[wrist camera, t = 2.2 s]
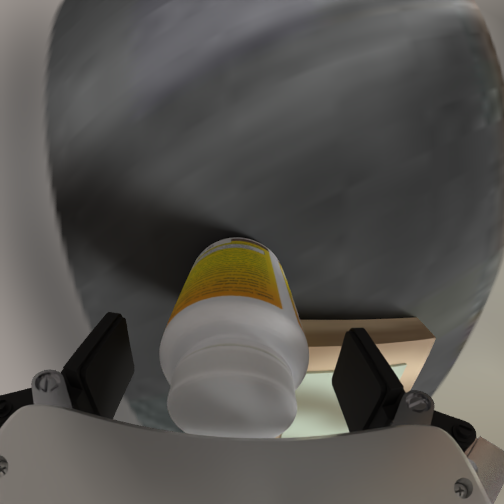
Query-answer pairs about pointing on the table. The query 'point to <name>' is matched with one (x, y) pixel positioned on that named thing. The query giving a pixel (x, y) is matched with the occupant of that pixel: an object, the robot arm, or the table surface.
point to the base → (325, 358)
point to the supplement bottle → (234, 345)
